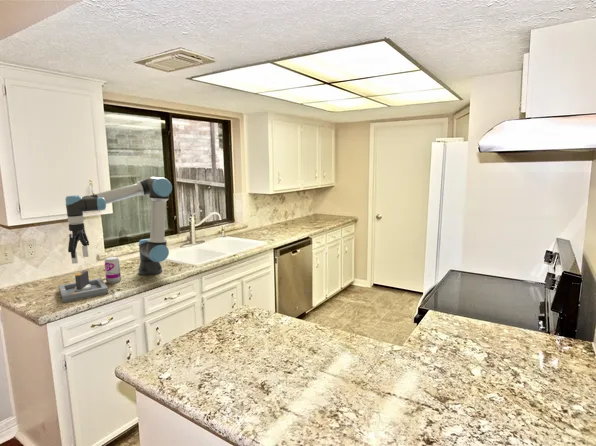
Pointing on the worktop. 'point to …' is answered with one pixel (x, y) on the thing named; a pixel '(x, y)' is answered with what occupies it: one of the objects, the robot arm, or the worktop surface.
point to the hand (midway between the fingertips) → (80, 260)
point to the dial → (82, 282)
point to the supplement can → (112, 269)
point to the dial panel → (70, 295)
